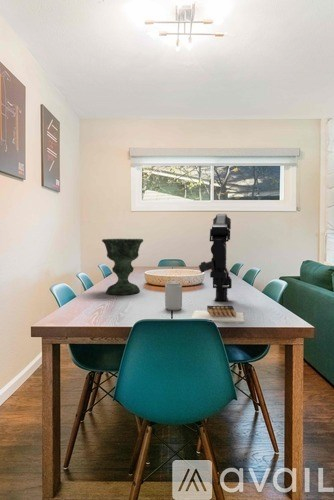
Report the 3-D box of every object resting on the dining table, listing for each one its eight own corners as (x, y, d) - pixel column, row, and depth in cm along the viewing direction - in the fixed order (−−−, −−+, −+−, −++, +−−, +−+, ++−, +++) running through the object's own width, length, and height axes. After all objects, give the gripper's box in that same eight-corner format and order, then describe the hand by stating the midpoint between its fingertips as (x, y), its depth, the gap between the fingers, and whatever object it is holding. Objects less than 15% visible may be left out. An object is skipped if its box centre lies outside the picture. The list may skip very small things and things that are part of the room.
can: (166, 311, 143) (166, 283, 142) (163, 307, 150) (163, 281, 149) (183, 310, 144) (183, 283, 143) (179, 306, 151) (179, 280, 151)
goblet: (100, 290, 193) (100, 238, 192) (138, 288, 200) (138, 238, 198) (105, 297, 172) (104, 239, 171) (147, 294, 179) (147, 239, 178)
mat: (195, 311, 142) (195, 310, 142) (243, 313, 138) (243, 312, 138) (190, 320, 128) (190, 318, 128) (243, 323, 124) (243, 321, 124)
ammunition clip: (207, 310, 142) (210, 318, 130) (207, 305, 141) (210, 313, 130) (232, 310, 141) (237, 318, 130) (232, 305, 141) (238, 313, 129)
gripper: (202, 253, 150) (202, 288, 151) (197, 256, 131) (197, 295, 132) (227, 253, 147) (227, 288, 148) (226, 256, 129) (225, 296, 130)
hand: (219, 292), depth 140 cm, fingers closed
